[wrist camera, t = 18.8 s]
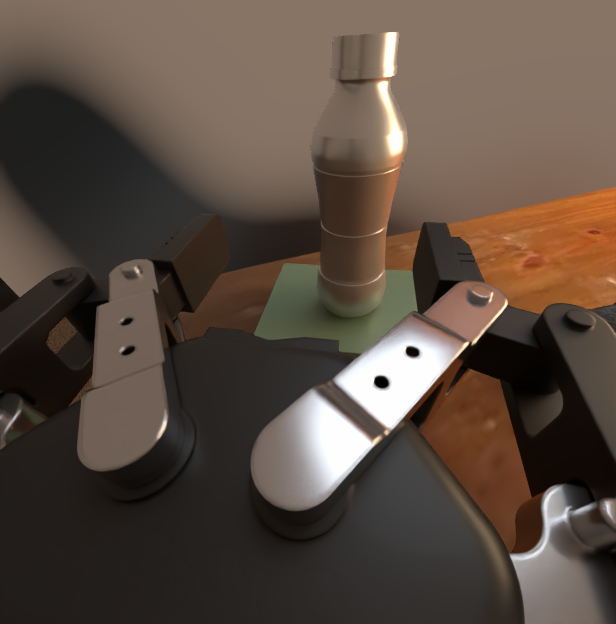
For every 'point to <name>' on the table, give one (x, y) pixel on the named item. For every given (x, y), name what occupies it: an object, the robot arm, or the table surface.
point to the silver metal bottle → (357, 172)
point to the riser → (322, 323)
